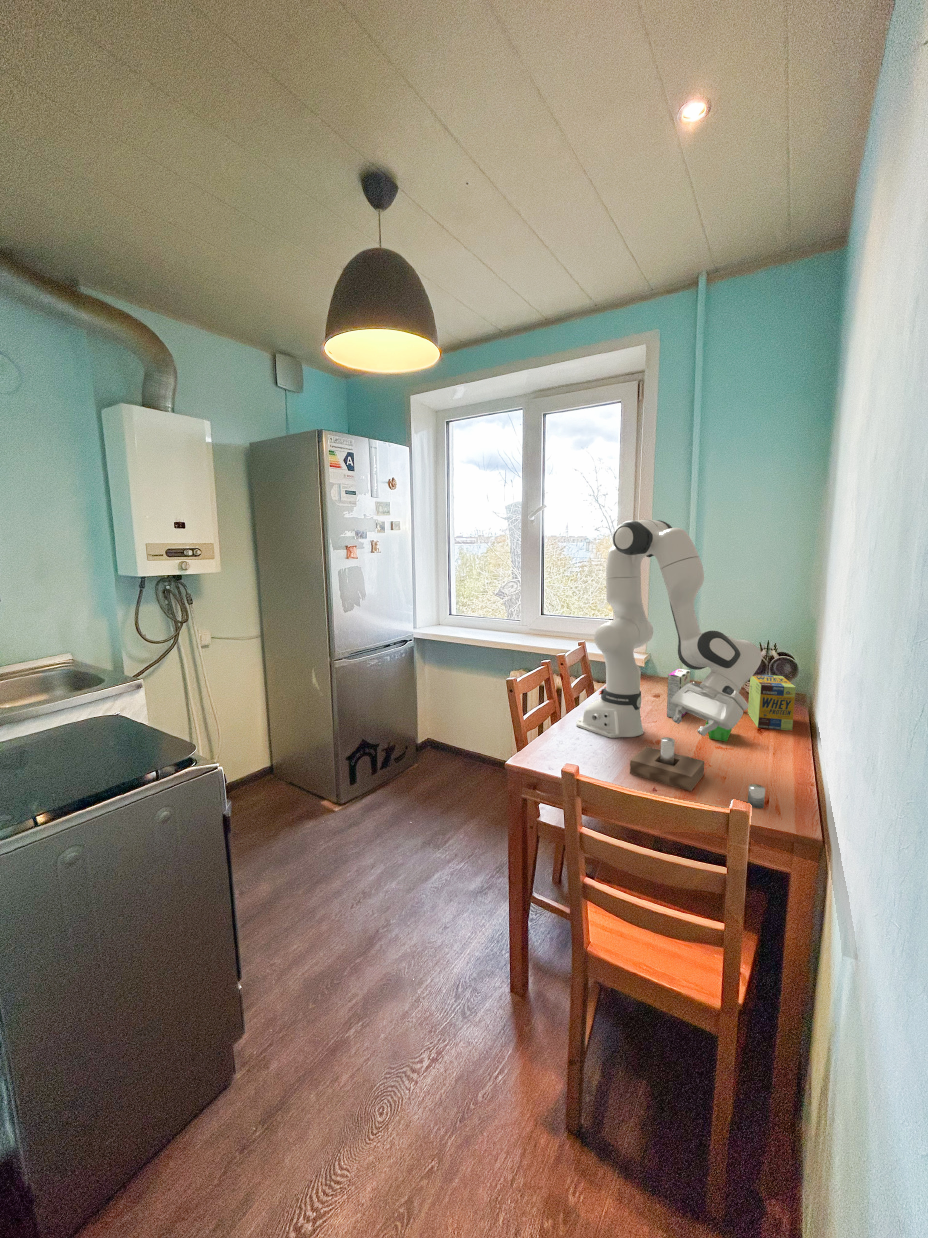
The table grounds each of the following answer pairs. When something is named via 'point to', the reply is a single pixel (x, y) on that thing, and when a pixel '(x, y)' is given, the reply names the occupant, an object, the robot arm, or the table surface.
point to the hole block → (667, 769)
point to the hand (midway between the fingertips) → (687, 727)
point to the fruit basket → (719, 733)
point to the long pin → (667, 751)
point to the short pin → (756, 796)
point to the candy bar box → (676, 688)
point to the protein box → (771, 702)
